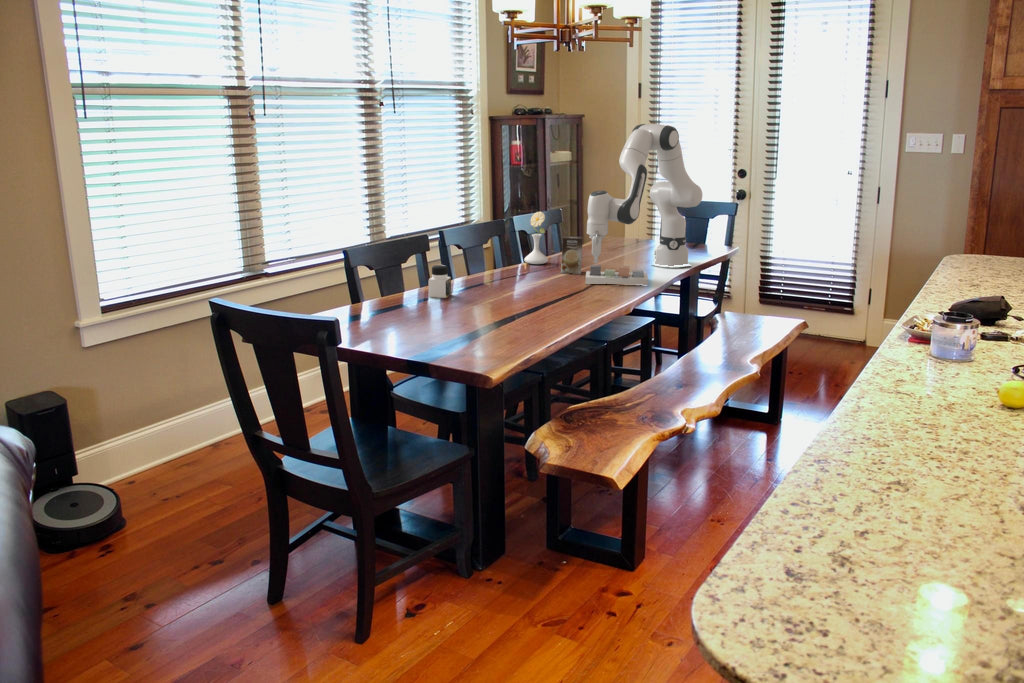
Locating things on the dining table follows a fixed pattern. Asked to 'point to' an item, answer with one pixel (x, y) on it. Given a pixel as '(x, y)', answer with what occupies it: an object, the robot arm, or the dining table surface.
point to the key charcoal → (595, 270)
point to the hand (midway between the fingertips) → (595, 262)
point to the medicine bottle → (439, 282)
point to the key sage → (609, 272)
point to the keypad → (616, 279)
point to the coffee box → (571, 254)
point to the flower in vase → (536, 241)
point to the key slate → (638, 273)
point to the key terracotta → (623, 271)
